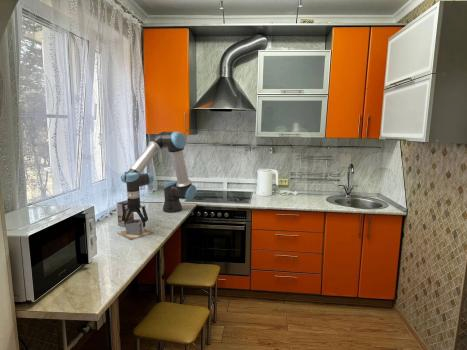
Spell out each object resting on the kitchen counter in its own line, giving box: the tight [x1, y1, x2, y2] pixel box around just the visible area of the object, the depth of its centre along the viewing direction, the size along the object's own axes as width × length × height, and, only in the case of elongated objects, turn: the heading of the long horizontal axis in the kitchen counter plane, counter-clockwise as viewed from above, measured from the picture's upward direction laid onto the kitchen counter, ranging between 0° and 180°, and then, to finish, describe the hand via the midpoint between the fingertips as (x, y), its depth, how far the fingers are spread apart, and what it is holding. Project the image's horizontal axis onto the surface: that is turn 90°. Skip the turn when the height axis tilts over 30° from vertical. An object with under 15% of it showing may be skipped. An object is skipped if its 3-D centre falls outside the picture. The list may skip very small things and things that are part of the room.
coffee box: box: [116, 199, 135, 228], centre depth 220 cm, size 9×6×16 cm
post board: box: [117, 221, 154, 241], centre depth 203 cm, size 16×16×8 cm
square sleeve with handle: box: [125, 218, 146, 235], centre depth 206 cm, size 14×9×7 cm, turn 176°
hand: (135, 231), depth 204 cm, fingers closed on square sleeve with handle, 9 cm apart
